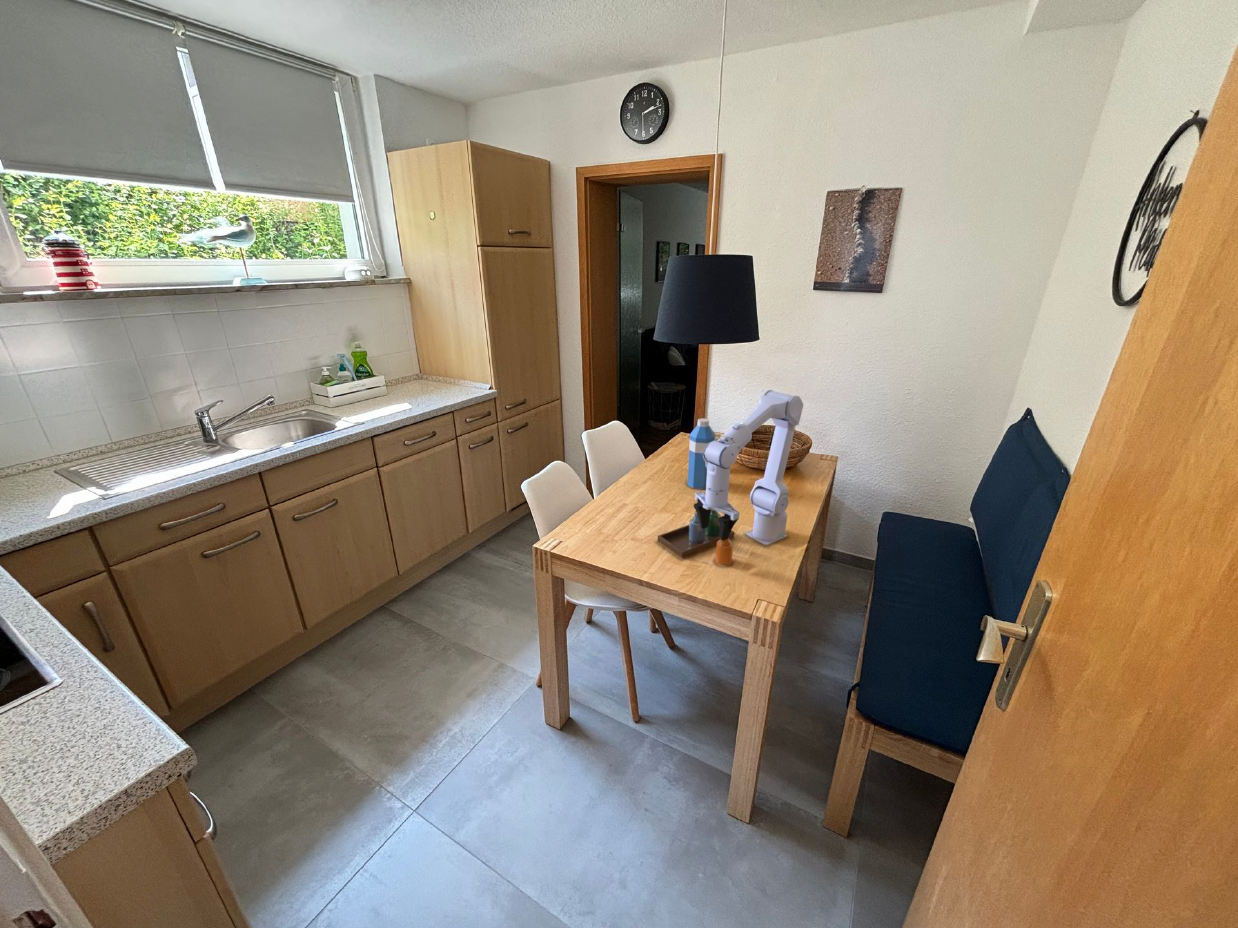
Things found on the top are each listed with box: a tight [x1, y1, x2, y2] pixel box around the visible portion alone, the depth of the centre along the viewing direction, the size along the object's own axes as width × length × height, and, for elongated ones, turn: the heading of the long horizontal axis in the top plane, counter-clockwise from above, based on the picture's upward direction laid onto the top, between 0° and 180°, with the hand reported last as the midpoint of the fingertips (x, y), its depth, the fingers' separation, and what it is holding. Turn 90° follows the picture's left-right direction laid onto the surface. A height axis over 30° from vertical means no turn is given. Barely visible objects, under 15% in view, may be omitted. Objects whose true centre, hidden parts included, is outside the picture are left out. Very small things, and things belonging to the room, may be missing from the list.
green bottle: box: [705, 509, 722, 537], centre depth 149 cm, size 4×4×9 cm
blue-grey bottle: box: [688, 510, 704, 543], centre depth 146 cm, size 4×4×9 cm
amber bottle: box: [715, 537, 734, 566], centre depth 135 cm, size 4×4×9 cm
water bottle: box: [687, 417, 715, 490], centre depth 181 cm, size 9×9×25 cm
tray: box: [657, 524, 735, 559], centre depth 148 cm, size 20×11×2 cm, turn 123°
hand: (714, 533), depth 133 cm, fingers open, 7 cm apart
